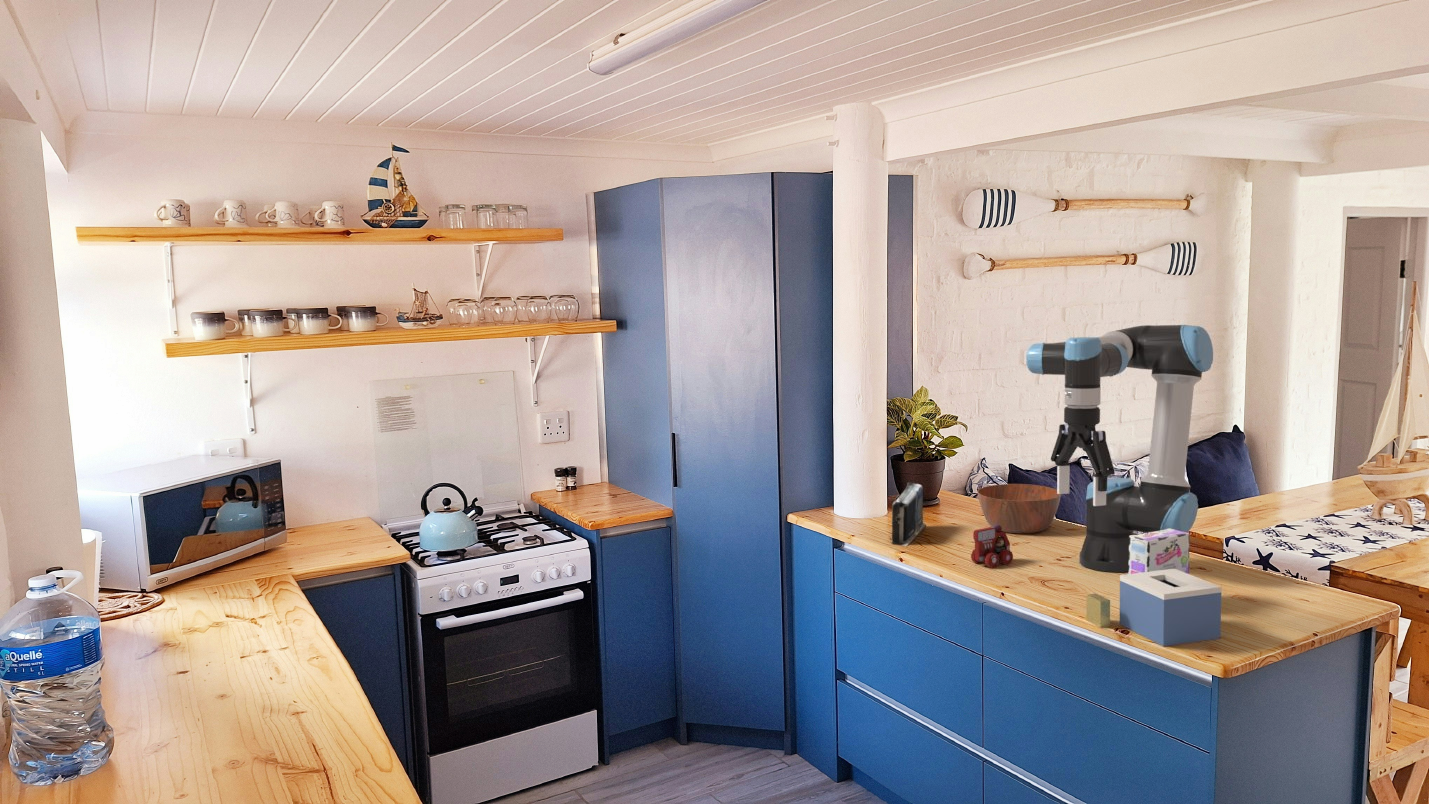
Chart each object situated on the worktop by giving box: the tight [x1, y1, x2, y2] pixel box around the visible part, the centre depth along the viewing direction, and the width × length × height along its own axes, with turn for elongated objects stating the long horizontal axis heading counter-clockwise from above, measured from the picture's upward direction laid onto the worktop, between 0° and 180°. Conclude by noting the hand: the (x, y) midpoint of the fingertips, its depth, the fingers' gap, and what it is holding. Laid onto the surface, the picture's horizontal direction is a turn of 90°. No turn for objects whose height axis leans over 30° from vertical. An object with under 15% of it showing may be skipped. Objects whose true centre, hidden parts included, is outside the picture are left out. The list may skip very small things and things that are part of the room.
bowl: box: [976, 483, 1062, 535], centre depth 292 cm, size 25×25×11 cm
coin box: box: [1119, 569, 1222, 647], centre depth 202 cm, size 14×14×11 cm
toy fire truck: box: [970, 525, 1014, 569], centre depth 256 cm, size 7×12×10 cm, turn 118°
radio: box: [890, 482, 927, 547], centre depth 287 cm, size 23×9×15 cm, turn 147°
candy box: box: [1127, 528, 1190, 574], centre depth 221 cm, size 14×6×16 cm, turn 114°
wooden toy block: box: [1085, 593, 1111, 629], centre depth 208 cm, size 5×2×6 cm, turn 13°
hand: (1080, 499), depth 211 cm, fingers open, 13 cm apart
